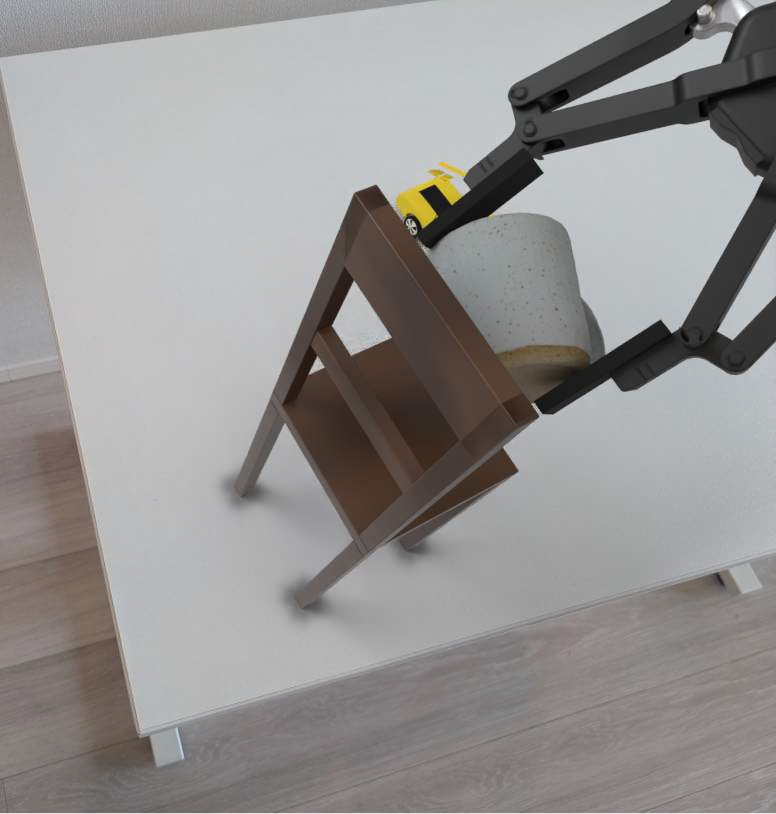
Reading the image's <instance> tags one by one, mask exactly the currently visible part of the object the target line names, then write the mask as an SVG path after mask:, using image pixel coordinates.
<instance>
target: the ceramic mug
mask: <svg viewBox="0 0 776 814" xmlns="http://www.w3.org/2000/svg"><path fill="white" fill-rule="evenodd" d="M573 251H574V250H573V246H572V240H571V237H570V235H569V232H568V230H567V228H566V227H565V226H564V225H563V223H561V222H559V221H558V220H556V219H555V218H552V217H551V216H548V215H544V214H540V213H532V212H512V213H511V212H509V213H501V214H497V215H495V216H490V217H485V218H482V219H479V220H475V221H473V222H470V223H468V224H466V225H464V226H462V227H460V228H458V229H456V230H454V231H452V232H450V233H448V234H447V235H446V236H444V237H443V238H442V239H440V240H439V241H438V242H437V243H436V244H435V245H434V246H433V247H432V248H431V249H429V251H428V252H427V254H426V256H427V257H428V258H429V260H430V261H431V263H432V264H433V265H434V267H435V268H436V270H437V271H438V273H439V274H440V275H441V277H442V278H443V280H444V281H445V283H446V284H447V285H448V287H449V288H450V290H451V291H452V292H453V294H454V295H455V297H456V298H457V300H458V301H459V302H460V304H461V305H462V307H463V308H464V309H465V311H466V312H467V314H468V315H469V317H470V318H471V319H472V321H473V322H474V324H475V325H476V327H477V328H478V329H479V331H480V332H481V334H482V335H483V336H484V338H485V339H486V341H487V342H488V344H489V345H490V346H491V348H492V349H493V351H494V352H495V353H496V355H497V356H498V358H499V359H500V361H501V362H502V363H503V365H504V366H505V368H506V369H507V371H508V372H509V373H510V375H511V376H512V378H513V379H514V380H515V382H516V383H517V385H518V386H519V388H520V389H521V390H522V392H523V393H524V394H525V396H526V397H527V399H528V400H529V401H530V403H531V404H532V405H533V404H535V403H534V402H533V401H535V400H536V399H538V398H539V397H541V396H542V395H544V394H546V393H547V392H549V391H550V390H552V389H553V388H555V387H556V386H558V385H559V384H561V383H563V382H564V381H566V380H567V379H569V378H570V377H572V376H573V375H575V374H577V373H578V372H580V371H581V370H583V369H584V368H586V367H587V366H589V365H590V364H592V363H594V362H595V361H597V360H598V359H600V358H601V357H603V356H604V355H606V354H607V352H606V345H605V339H604V335H603V331H602V329H601V326H600V324H599V322H598V319H597V317H596V316H595V314H594V312H593V311H592V308H590V307H591V306H589V305H588V303H587V302H586V301H585V300H584V298H583V297H582V296H581V289H580V282H579V276H578V272H577V267H576V260H575V255H574V252H573Z"/></svg>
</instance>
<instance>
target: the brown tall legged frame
mask: <svg viewBox="0 0 776 814" xmlns="http://www.w3.org/2000/svg"><path fill="white" fill-rule="evenodd" d="M354 283H355V284H356V286H357V287H358V289H359V290H360V292H361V293H362V295H363V297H364V298H365V299H366V301H367V302H368V304H369V305H370V307H371V309H372V310H373V311H374V313H375V314H376V316H377V318H378V319H379V320H380V322H381V324H382V325H383V326H384V327H385V329H386V331H387V333H388V334H389V335H390V338H388V339H386V340H383V341H380V342H379V343H376V344H375V345H372V346H370V347H368V348H365V349H363V350H361V351H358V352H357V353H354V354H352V355H351V353H350V351H349V350H348V348H347V347H346V345H345V344H344V342H343V340H342V339H341V338H340V336H339V334H338V333H337V331H336V329H335V328H334V326H333V325H334V323H335V321H336V319H337V318H338V314H339V312H340V310H341V309H342V306H343V304H344V303H345V300H346V298H347V296H348V294H349V292H350V290H351V288H352V287H353V286H352V285H353V284H354ZM317 358H318V359H319V361H320V362H321V364H322V366H323V367H322V368H320V369H318V370H315V371H314V372H312V373H311V371H312V368H313V366H314V364H315V363H316V360H317ZM539 418H540V415H539V413H538V411H537V410H536V408H535V407H534V405H533V403H532V404H531V403H530V401H529V400H528V399H527V397H526V396H525V394H524V393H523V392H522V390H521V389H520V388H519V386H518V385H517V383H516V382H515V380H514V379H513V378H512V376H511V375H510V373H509V372H508V371H507V369H506V368H505V366H504V365H503V363H502V362H501V361H500V359H499V358H498V356H497V355H496V353H495V352H494V351H493V349H492V348H491V346H490V345H489V344H488V342H487V341H486V339H485V338H484V336H483V335H482V334H481V332H480V331H479V329H478V328H477V327H476V325H475V324H474V322H473V321H472V319H471V318H470V317H469V315H468V314H467V312H466V311H465V309H464V308H463V307H462V305H461V304H460V302H459V301H458V300H457V298H456V297H455V295H454V294H453V292H452V291H451V290H450V288H449V287H448V285H447V284H446V283H445V281H444V280H443V278H442V277H441V275H440V274H439V273H438V271H437V270H436V268H435V267H434V265H433V264H432V263H431V261H430V260H429V258H428V257H427V254H426V253H425V251H424V250H423V249H422V247H421V245H420V244H419V243H418V241H417V240H416V238H414V237H413V236H412V234H411V233H410V231H409V230H408V229H407V227H406V226H405V224H404V221H403V220H402V219H401V217H400V216H399V214H398V213H397V211H396V210H395V209H394V207H393V206H392V204H391V203H390V201H389V199H388V198H387V197H386V196H385V194H384V193H383V191H382V190H381V188H380V187H379V186H378V184H373V185H371V186H368V187H365V188H363V189H360V190H357V191H355V192H353V195H352V197H351V199H350V202H349V204H348V206H347V209H346V212H345V214H344V216H343V219H342V221H341V224H340V225H339V229H338V231H337V233H336V236H335V238H334V241H333V243H332V245H331V248H330V251H329V253H328V255H327V258H326V260H325V262H324V265H323V267H322V270H321V273H320V275H319V278H318V280H317V282H316V285H315V287H314V290H313V292H312V295H311V297H310V300H309V302H308V304H307V306H306V309H305V312H304V314H303V317H302V319H301V322H300V324H299V326H298V329H297V332H296V334H295V336H294V339H293V341H292V344H291V345H290V349H289V351H288V353H287V355H286V358H285V361H284V362H283V366H282V368H281V370H280V372H279V375H278V378H277V380H276V382H275V386H274V388H273V389H272V391H271V395H270V398H269V399H268V403H267V405H266V407H265V409H264V413H263V415H262V417H261V419H260V421H259V424H258V427H257V429H256V432H255V434H254V437H253V439H252V442H251V444H250V446H249V449H248V451H247V453H246V456H245V459H244V461H243V463H242V466H241V469H240V471H239V473H238V476H237V478H236V481H235V483H234V488H235V490H236V492H237V494H238V495H239V497H244V496H245V495H246V496H247V495H248V494H250V493H252V492H253V490H254V488H255V485H256V483H257V482H258V480H259V477H260V475H261V473H262V471H263V469H264V467H265V466H266V463H267V461H268V459H269V457H270V455H271V453H272V451H273V449H274V446H275V444H276V442H277V440H278V438H279V437H280V434H281V432H282V430H283V428H284V426H286V428H287V429H288V431H289V432H290V435H291V436H292V438H293V439H294V441H295V443H296V445H297V446H298V448H299V449H300V451H301V452H302V455H303V456H304V458H305V460H306V462H307V463H308V465H309V467H310V469H311V470H312V472H313V474H314V475H315V477H316V479H317V480H318V482H319V484H320V486H321V487H322V489H323V490H324V493H325V494H326V496H327V498H328V500H329V501H330V503H331V504H332V506H333V507H334V509H335V511H336V513H337V514H338V516H339V518H340V519H341V522H342V523H343V524H344V526H345V528H346V529H347V531H348V534H349V535H350V536H351V538H352V541H351V542H350V543H349V544H348V545H347V546H346V547H344V548H343V549H342V550H341V551H340V552H339V553H337V555H336V556H335V557H334V558H333V559H331V561H330V562H329V563H327V565H325V566H324V567H323V568H322V569H321V570H320V571H319V572H318V573H317V574H316V575H315V576H314V577H313V578H312V579H310V580H309V581H308V583H307V584H305V586H302V588H301V589H300V590H299V591H298V592H297V593H296V594H295V595H294V598H295V599H296V601H297V603H298V605H299V607H300V609H305V607H307V606H309V605H311V604H312V603H315V602H316V601H317V600H318V599H319V598H321V596H322V595H324V594H325V593H326V592H328V591H329V590H330V589H331V588H332V587H335V585H336V584H338V583H339V582H340V581H341V580H342V579H344V578H345V577H346V576H347V575H349V574H350V573H351V572H352V571H353V570H354V569H356V568H357V567H358V566H360V565H361V564H362V563H363V562H364V561H365V560H367V559H368V558H369V557H371V556H372V555H373V554H374V553H376V551H378V550H379V549H381V548H383V547H385V546H386V545H388V544H390V543H392V542H394V541H396V540H398V541H399V542H400V544H401V546H402V547H403V549H404V551H405V552H408V551H410V550H411V549H413V548H415V547H417V546H418V545H419V544H421V543H422V542H424V541H425V540H426V539H428V538H429V537H430V536H432V535H433V534H435V533H436V532H437V531H439V530H440V529H442V528H443V527H445V526H446V525H448V523H450V522H451V521H453V520H455V519H456V518H457V517H459V516H460V515H461V514H463V512H465V511H466V510H468V509H470V508H471V507H472V506H474V505H475V504H476V503H478V502H479V501H481V500H482V499H483V498H484V497H486V496H487V495H489V494H490V493H491V492H493V491H495V490H496V489H498V487H500V486H501V485H503V484H504V483H505V482H507V481H508V480H510V479H511V478H512V477H514V476H515V475H516V474H518V473H519V472H520V471H519V469H518V467H517V465H516V464H515V463H514V462H513V460H512V458H511V457H510V455H509V454H508V452H507V451H506V450H505V448H504V447H505V446H506V445H507V444H509V442H511V441H512V440H514V439H515V438H516V437H517V436H518V435H520V434H521V433H522V432H523V431H524V430H526V429H527V428H528V427H530V425H532V424H534V422H535V421H537V420H538V419H539Z"/></svg>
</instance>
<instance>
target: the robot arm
mask: <svg viewBox="0 0 776 814" xmlns="http://www.w3.org/2000/svg"><path fill="white" fill-rule="evenodd" d="M726 32H727V33H730V34H731V37H730V40H729V42H728V45H727V47H726V50H725V52H724V55H723V57H722V60H721V62H720V63H717V64H713V65H709V66H705V67H701V68H698V69H694V70H690V71H686V72H684V73H680V74H679V75H677V76H676V77H675V78H674V79H671V80H667V81H664V82H660V83H657V84H654V85H653V84H652V85H649V86H645V87H642V88H637V89H634V90H629V91H627V92H622V93H619V94H614V95H610V96H606V97H603V98H600V99H599V98H598V99H595V100H591V101H588V102H587V101H586V102H584V103H580V104H577V105H572V106H569V107H565V108H562V107H564V106H566V105H569V104H570V103H572V102H574V101H576V100H578V99H580V98H582V97H584V96H586V95H588V94H591V93H592V92H594V91H596V90H599V89H600V88H602V87H605V86H606V85H608V84H611V83H612V82H615V81H616V80H619V79H621V78H622V77H625V76H626V75H629V74H631V73H634V72H635V71H637V70H639V69H641V68H643V67H645V66H647V65H649V64H652V63H653V62H655V61H657V60H659V59H661V58H663V57H665V56H668V55H669V54H671V53H673V52H674V51H677V50H678V49H680V48H681V47H683V46H684V45H686V44H687V43H689V42H690V41H691V40H693V39H696V40H699V41H701V40H707V39H710V38H711V37H713V36H715V35H717V34H720V33H726ZM507 101H508V102H509V103H510V106H511V107H510V108H511V111H512V113H513V118H514V122H515V123H514V128H513V131H512V133H511V134H510V135H509V137H507V138H506V139H505V140H504V141H502V142H501V143H500V144H499V145H498V146H496V147H495V148H494V149H492V150H491V151H490V152H489V153H488V154H487V155H485V156H484V157H483V158H482V159H480V160H479V161H478V162H477V163H475V165H473V166H472V167H471V168H469V169H468V171H467V172H466V173H467V174H466V175H465V177H463V178H462V180H463V182H464V183H465V184H466V186H467V187H468V188H469V191H468V192H466V193H465V194H463V195H462V197H461V198H460V199H459V200H458V201H456V202H455V203H454V204H453V205H451V206H450V207H449V208H448V209H446V210H445V211H444V212H443V213H441V214H440V215H439V216H438V217H436V218H435V219H434V220H433V221H432V222H430V223H429V224H428V225H427V226H425V227H424V228H422V230H420V231H419V232H418V233H417V234H416V235H417V239H418V240H419V241H420V243H421V244H422V245H423V246H424V247H426V248H427V249H429V250H431V248H432V247H433V246H434V245H435V244H436V243H437V242H438V241H439V240H440V239H442V238H443V237H444V236H446V235H447V234H448V233H450V232H452V231H454V230H456V229H458V228H460V227H462V226H464V225H466V224H468V223H470V222H473V221H475V220H479V219H482V218H485V217H488V216H490V215H491V214H494V213H495V212H496V211H497V210H500V208H501V207H503V206H504V205H505V204H506V203H508V202H509V201H510V200H512V199H513V198H514V197H515V196H517V195H518V194H519V193H521V192H522V191H524V189H526V188H527V187H529V186H530V185H531V184H532V183H533V182H535V181H536V180H537V179H539V178H540V177H541V176H542V175H545V172H544V171H543V170H542V168H541V167H540V165H539V164H538V163H537V160H538V161H545V158H544V156H546V155H551V154H555V153H561V152H564V151H568V150H573V149H576V148H577V149H578V148H580V147H585V146H590V145H594V144H599V143H602V142H607V141H611V140H615V139H619V138H623V137H628V136H631V135H636V134H641V133H645V132H649V131H653V130H657V129H662V128H666V127H671V126H674V125H684V126H687V125H688V126H689V125H694V124H698V123H699V124H700V123H703V122H707V121H709V128H710V129H711V130H712V131H713V132H714V134H715V135H717V137H718V138H719V139H720V140H721V141H723V142H725V143H727V144H728V145H730V146H732V147H733V148H735V149H736V151H737V152H738V155H739V157H740V159H741V162H742V165H743V166H744V167H745V168H746V169H747V170H748V172H750V173H751V175H752V176H753V177H754V178H756V177H757V176H759V177H761V178H763V179H762V180H761V182H760V183H759V186H758V188H757V190H756V193H755V195H754V196H753V198H752V199H751V202H750V204H749V205H748V207H747V209H746V211H745V212H744V214H743V216H742V218H741V219H740V222H739V223H738V224H737V227H736V229H735V230H734V232H733V234H732V235H731V237H730V239H729V241H728V243H727V245H725V248H724V249H723V251H722V253H721V255H720V257H719V258H718V260H717V263H716V264H715V266H714V268H713V269H712V271H711V273H710V275H709V276H708V278H707V280H706V282H705V283H704V285H703V287H702V289H701V291H700V292H699V294H698V296H697V298H696V299H695V301H694V303H693V305H692V307H691V309H690V310H689V312H688V314H687V315H686V318H685V319H684V321H683V323H682V324H681V326H679V327H678V329H676V330H675V331H673V332H672V331H671V330H670V329H669V328H668V326H667V325H666V324H665V323H664V321H663V320H662V319H658V320H657V321H655V322H654V323H653V324H650V326H647V327H646V328H644V329H643V330H641V331H640V332H638V333H637V334H636V335H633V336H632V337H631V338H629V339H628V340H626V341H625V342H623V343H621V344H619V346H617V347H615V348H614V349H612V350H611V351H609V352H607V353H606V355H604V356H603V357H601V358H600V359H598V360H597V361H595V362H594V363H592V364H590V365H589V366H587V367H586V368H584V369H583V370H581V371H580V372H578V373H577V374H575V375H573V376H572V377H570V378H569V379H567V380H566V381H564V382H563V383H561V384H559V385H558V386H556V387H555V388H553V389H552V390H550V391H549V392H547V393H546V394H544V395H542V396H541V397H539V398H538V399H536V400H535V401H533V402H534V403H533V404H534V405H535V406H536V408H537V409H538V410H539V412H540V413H541V414H542V415H549V416H554V415H555V414H557V413H558V412H560V411H562V410H563V409H565V408H566V407H568V406H570V405H571V404H573V403H574V402H576V401H577V400H579V399H581V398H583V397H584V396H586V395H587V394H588V393H590V392H592V391H593V390H594V389H596V388H598V387H600V386H601V385H603V384H605V383H606V382H608V381H609V380H612V381H613V382H614V384H615V385H616V386H617V387H618V389H619V390H620V391H621V392H623V393H627V392H632V391H638V390H639V389H641V388H642V387H644V386H646V385H647V384H649V383H650V382H652V381H653V380H655V379H657V378H659V377H661V376H662V375H663V374H665V373H667V372H668V371H670V370H672V369H673V368H675V367H677V366H679V365H680V364H682V363H684V362H685V361H687V360H691V359H702V360H704V361H706V362H708V363H710V364H711V365H713V366H714V367H716V368H718V369H720V370H721V371H723V372H724V373H725V374H727V375H731V376H739V375H743V374H745V373H746V372H747V371H749V370H750V368H752V366H753V365H755V364H756V362H757V361H759V360H760V359H761V357H762V356H763V355H764V354H765V353H767V352H768V351H769V350H770V348H771V347H772V346H773V345H774V344H775V343H776V295H775V296H774V297H773V298H772V299H771V300H770V301H769V302H768V303H767V304H766V305H765V307H763V308H762V309H761V310H760V311H759V312H758V313H757V315H755V316H754V318H753V319H752V320H750V322H748V324H747V325H746V326H745V327H744V328H743V329H742V330H741V331H740V332H739V333H738V334H736V336H735V337H734V338H733V339H731V338H729V337H728V336H726V335H725V334H722V333H721V332H719V328H720V327H721V325H722V323H723V322H724V320H725V319H726V316H727V315H728V313H729V311H730V310H731V308H732V307H733V305H734V303H735V301H736V299H737V297H738V296H739V294H740V292H741V290H742V289H743V287H744V285H745V284H746V282H747V280H748V278H749V276H750V275H751V273H752V271H753V270H754V268H755V266H756V264H757V263H758V261H759V259H760V257H761V255H762V254H763V252H764V251H765V249H766V247H767V245H768V243H769V242H770V240H771V239H772V237H773V235H774V233H775V232H776V0H775V1H772V2H770V3H766V4H762V5H759V6H757V7H756V6H754V5H753V4H751V3H750V2H749V1H748V0H669V1H668V2H667V3H665V4H664V5H661V6H660V7H657V8H656V9H653V10H652V11H650V12H648V13H646V14H645V15H643V16H640V17H639V18H637V19H635V20H633V21H631V22H629V23H627V24H625V25H623V26H622V27H619V28H618V29H616V30H614V31H612V32H610V33H608V34H606V35H604V36H602V37H601V38H599V39H597V40H595V41H593V42H591V43H589V44H586V45H585V46H584V47H583V46H582V48H580V49H578V50H576V51H574V52H572V53H570V54H568V55H566V56H565V57H563V58H560V59H558V60H557V61H555V62H553V63H551V64H549V65H547V66H545V67H544V68H542V69H540V70H538V71H536V72H534V73H532V74H530V75H528V76H526V77H524V78H523V79H520V80H518V81H517V82H515V83H514V84H513V85H511V87H510V88H509V89H508V92H507Z"/></svg>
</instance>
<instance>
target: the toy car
mask: <svg viewBox="0 0 776 814" xmlns="http://www.w3.org/2000/svg"><path fill="white" fill-rule="evenodd" d="M437 165H438V166H440V167H442V168H445V169H447V170H448V171H450V172H452V173H455V174H457V175H460V176H462V177H463V178H464V177H465V175H466V174H467V172H465V171H463V170H461V169H459V168H456V167H455V166H453V165H451V164H448V163H446V162H444V161H441V162H438V163H437ZM426 173H429V174H430V175H432V176H434V177H435V178H432V179H430V180H427V181H425V182H423V183H421V184H419V185H416V186H414V187H412V188H409V189H407V190H405V191H402V192H401V193H398V195H397V197H396V199H395V203H396V207H397V208H398V210H399V211H400V212H401V214H402V215H403V216H404V217H405V218H404V221H403V223H404V224H405V226H406V227H407V229H408V230H409V231H410V233H411V234H412V236H413V237H414V238H415V239H418V237H417V235H416V234H417V233H418V232H419V231H420V230H422V229H423V228H424V227H425V226H427V225H428V224H429V223H430V222H432V221H433V220H434V219H435V218H436V217H438V216H439V215H440V214H441V213H443V212H444V211H445V210H446V209H448V208H449V207H450V206H451V205H453V204H454V203H455V202H456V201H458V200H459V199H460V198H461V197H463V195H461V194H460V192H459V191H458V189H456V187H455V186H454V185H453V183H451V182H450V180H452V179H454V178H455V176H453V175H450V174H447V173H446V172H445V171H443V170H440V169H430V170H428V171H426ZM490 216H495V215H494V213H492V214H491V215H490ZM490 216H488V217H490Z"/></svg>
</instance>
